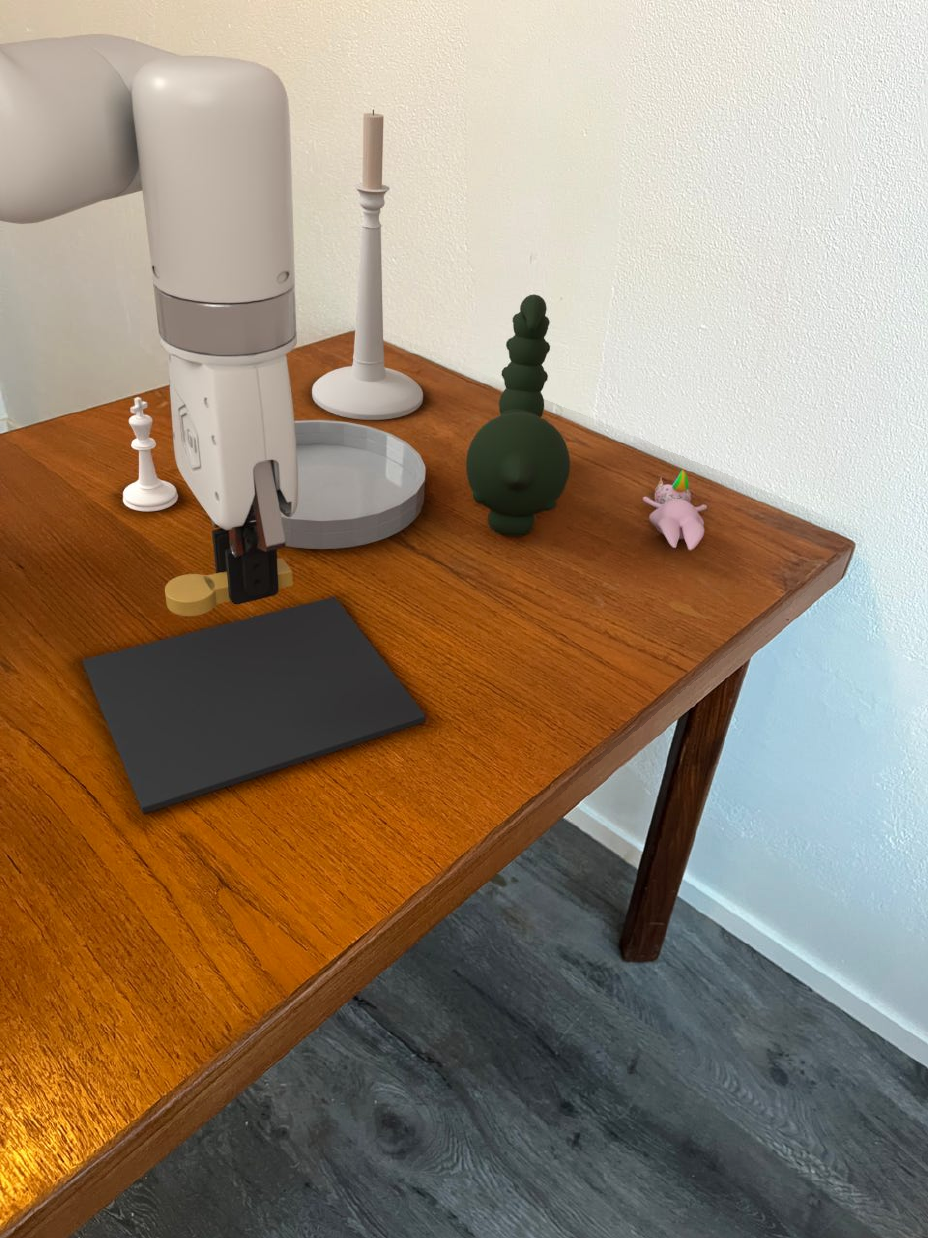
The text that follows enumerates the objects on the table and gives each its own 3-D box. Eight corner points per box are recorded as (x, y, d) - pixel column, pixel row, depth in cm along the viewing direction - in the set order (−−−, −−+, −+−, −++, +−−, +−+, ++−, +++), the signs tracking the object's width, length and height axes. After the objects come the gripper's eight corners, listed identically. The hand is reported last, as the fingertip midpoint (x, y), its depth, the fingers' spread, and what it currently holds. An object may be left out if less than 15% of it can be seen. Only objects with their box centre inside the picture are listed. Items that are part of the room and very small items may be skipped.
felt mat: (143, 814, 61) (141, 808, 60) (83, 665, 71) (82, 659, 71) (426, 722, 69) (426, 715, 69) (334, 602, 80) (334, 596, 80)
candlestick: (437, 386, 117) (455, 108, 99) (399, 428, 107) (412, 128, 89) (339, 366, 120) (339, 92, 102) (293, 405, 110) (284, 109, 92)
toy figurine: (471, 456, 107) (454, 562, 85) (488, 277, 97) (473, 347, 75) (557, 465, 106) (561, 574, 85) (582, 287, 97) (594, 359, 75)
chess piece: (188, 494, 92) (178, 395, 86) (154, 517, 89) (141, 415, 83) (146, 480, 94) (133, 382, 88) (111, 502, 90) (95, 401, 84)
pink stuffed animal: (636, 504, 100) (643, 560, 87) (647, 448, 98) (656, 498, 84) (697, 512, 100) (713, 570, 87) (709, 456, 97) (728, 507, 84)
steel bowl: (258, 569, 83) (256, 539, 81) (187, 465, 97) (184, 438, 95) (461, 522, 92) (463, 494, 90) (369, 433, 106) (370, 408, 104)
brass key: (175, 621, 62) (173, 606, 61) (160, 595, 64) (158, 580, 63) (297, 591, 65) (296, 576, 64) (279, 567, 67) (278, 552, 67)
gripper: (121, 277, 58) (157, 541, 69) (206, 377, 47) (232, 672, 58) (243, 266, 61) (259, 520, 72) (348, 357, 50) (348, 639, 61)
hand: (247, 586), depth 65 cm, fingers closed on brass key, 1 cm apart
